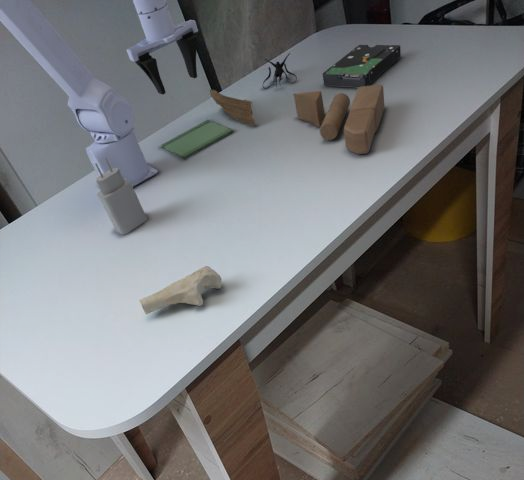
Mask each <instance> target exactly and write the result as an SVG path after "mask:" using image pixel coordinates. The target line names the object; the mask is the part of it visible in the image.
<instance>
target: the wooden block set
mask: <svg viewBox="0 0 524 480" xmlns="http://www.w3.org/2000/svg"><path fill="white" fill-rule="evenodd" d="M384 92H385V90H384V85H383V84H373V85H368V86H363V87H359V88H357V89H356V93H355V95H354V98H353V99H352V103H351V100H350V97H349V95H347V94H346V93H343V92H339V93H337V94H335V95H334V96H333V99H332V101H331V103H330V105H329V107H328V110H327V112H325V106H324V98H323V92H322V90H316V91H315V90H314V91H306V92H305V91H304V92H298V93H293V100H294V105H295V110H296V115H297V119H298V120H300V121H304V122H306V123H308V124H309V125H313V126H315V127H317V128H319V135H320V136H321V138H322V139H323V140H325V141H332V140H335V139H336V138H337V136H338V134H339V132H340V129H341V127H342V124H343V123H344V120H345V116H346V114H347V112H348V109H349V113H348V116H347V119H346V121H345V124H344V126H343V133H344V142H345V148H346V149H347V150H349V151H350V152H353V153H354V154H356V155H365V154H368V153H370V152H369V151H370V149H371V145H372V143H373V140H374V137H375V133H377V132H378V129H379V127H380V123H381V120H382V117H383V114H384V111H385V93H384ZM350 104H351V105H350ZM349 107H350V108H349ZM325 113H326V114H325Z"/></svg>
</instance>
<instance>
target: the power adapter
mask: <svg viewBox="0 0 524 480" xmlns="http://www.w3.org/2000/svg"><path fill="white" fill-rule="evenodd" d="M105 160H106V162H107V165H108V167H109V169H110V170H108V171H107V172H105V173H103V174H102V173H101V171H100V169H99V167H98V165H97V163H95V165H96V167H97V169H98V171H99V173H100V176H99V177H98V176H97V177H96V179H95V182H96V185H97V186H98V188H99V190H100V191H99V192H97V197H98V199H99V201H100V202H101V204H102V206H103V208H104V211H105V212H106V214H107V216H108V219H109V220H110V222H111V224H112V226H113V228H114V230H115V231H116V233H118V234H120V235H122V236H125V235H128V234H129V233H131V232H132V231H133V230H135V229H137V227H139V226H141V225H142V224H143V223H145V222H146V221H147V220H148V217H147V215H146V212H145V211H144V208H143V206H142V204H141V202H140V199H139V198H138V195H137V193H136V191H135V189H134V187H133V186H132V184H131V182H130V181H129V180H127V179H124V178H123V177H122V174H121V172H120V170H119V168H113V169H111V166H110V164H109V163H108V161H107V158H106V157H105Z"/></svg>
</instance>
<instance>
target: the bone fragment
mask: <svg viewBox="0 0 524 480" xmlns="http://www.w3.org/2000/svg"><path fill="white" fill-rule="evenodd" d="M221 287H222V277H221V275H219V273H218V272H217V271H216V270H215V269H213V268H212V267H210V266H209V265H205V266H203V267H200V268H199V269H197V270H196V271H194V272H192V273H190V274H188V275H186V276H185V277H182V278H180V279H179V280H176V281H174V282H172V283H171V284H169V285H167V286H165V287H164V288H162V289H161V290H159V291H157V292H155V293H153V294H150V295H148V296H145V297H143V298H140V299H139V300H138V301H139V303H140V305H141V307H142V309H143V311H144V312H143V313H144V314H145V315H148V314H151V313H153V312H155V311H157V310H159V309H162V308H163V307H166V306H170V305H175V304H176V305H177V304H181V303H182V304H187V305H192V306H193V305H195V306H198V307H199V306H200V307H201V306H203V305H204V299H203V298H202V293H204V290H205V289H210V288H212V289H217V290H220V289H221Z"/></svg>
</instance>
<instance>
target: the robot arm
mask: <svg viewBox="0 0 524 480" xmlns="http://www.w3.org/2000/svg"><path fill="white" fill-rule="evenodd" d="M132 2H133V5H134V8H135V11H136V13H137V16H138V19H139V22H140V25H141V28H142V31H143V33H144V36H145V38H144V39H142V40H141V41H139V42H137V43H136V44H135V45H133V46H131V47H129V48H127V49H126V53H127V56H128V59H129V61H131V62H134V63H135V64H136V65H137V66H138V67H139V68H140V69H141V70H142V71H143V72H144V73H145V75H146V76H147V77H148V79H149V80H150V82H151V83H152V84H153V86H154V87H155V89H156V91H157V93H158V94H160V95H165V94H166V89H165V85H164V83H163V80H162V78H161V75H160V71H159V67H158V63H157V59H156V58H155V57H153V56H152V55H150V54H152V53H154V52H156V51H158V50H160V49H162V48H165V47H167V46H169V45H171V44H173V43H176V44H177V46H178V48H179V51H180V53H181V55H182V59H183V61H184V64H185V68H186V71H187V74H188V76H189V78H192V79H197V78H198V70H197V50H198V44H199V37H198V35H196V33H198V32H199V29H198V25H197V21H196V20H194V19H189V20H186V21H183V22H181V23H178V24H176V25H175V24H174V21H173V18H172V15H171V11H170V9H169V5H168V1H167V0H132ZM0 23H1V24H2V25H3V26H4V27H5V28H6V29H7V30H8V32H9V33H10V34H11V35H12V36H13V37H14V38H15V40H17V41H18V42H19V43H20V45H21V46H22V47H23V48H24V49H25V50H26V51H27V52H28V54H29V55H31V57H32V58H33V59H34V60H35V61H36V62H37V63H38V64H39V66H40V67H41V68H42V69H43V70H44V71H45V72H46V73H47V74H48V76H50V77H51V79H52V80H53V81H54V82H55V83H56V84H57V85H58V86H59V88H60V89H61V90H62V91H63V92H64V93H65V94H66V96H68V99H67V107H68V108H69V109H70V110H71V111H72V112H73V114H74V117H75V120H76V121H77V124H78V125H79V126H80V127H81V129H83V130H84V131H86V132H89V134H90V135H91V137H92V139H93V140H94V141H93V142H92V143H91V144H90V145H88V146H87V147H86V148H85V151H86V154H87V157H88V159H89V161H90V163H91V165H92V167H93V169H94V171H95V173H96V175H97V177H99V176H100V173H99V171H98V169H97V167H96V165H95V163H97V165H98V167H99V169H100V171H101V173H102V174H103V173H105V172H107V171H108V170H110V169H109V167H108V165H107V162H106V160H105V157H106V158H107V161H108V163H109V164H110V166H111V169H113V168H119V170H120V172H121V174H122V177H123V178H124V179H127V180H129V181H130V182H131V184H132V186H133V188H134V187H135V186H138V185H139V184H141V183H142V182H144V181H146V180H148V179H149V178H151V177H153V176H155V175H157V174H158V173H159V172H158V170H157V169H156V168H154V167H153V166H150V165H149V164H148V163H147V162H148V161H147V160H146V158H145V155H144V152H143V150H142V149H141V146H140V143H139V141H138V139H137V137H136V134H135V132H134V130H135V128H134V125H135V118H136V117H135V110H134V107H133V105H132V104H131V103H130V101H129V100H128V99H127V98H125V97H124V96H122V95H119V94H118V93H116V91H115V90H114V89H113V87H111V86H110V85H108V84H107V83H105V82H102V81H101V80H99V79H97V78H96V77H95V76H94V75H93V74H92V73H91V71H90V70H89V69H88V68H87V67H86V66H85V64H84V63H83V62H82V61H81V59H80V58H79V57H78V56H77V55H76V53H75V52H74V51H73V50H72V48H71V47H70V46H69V44H68V43H66V41H65V40H64V39H63V38H62V37H61V35H60V34H59V33H58V31H56V29H55V28H54V27H53V26H52V25H51V23H50V22H49V21H48V20H47V18H46V17H45V16H44V15H43V14H42V13H41V11H40V10H39V9H38V7H37V6H36V5H35V4H34V3H33V2H32V0H0Z"/></svg>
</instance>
